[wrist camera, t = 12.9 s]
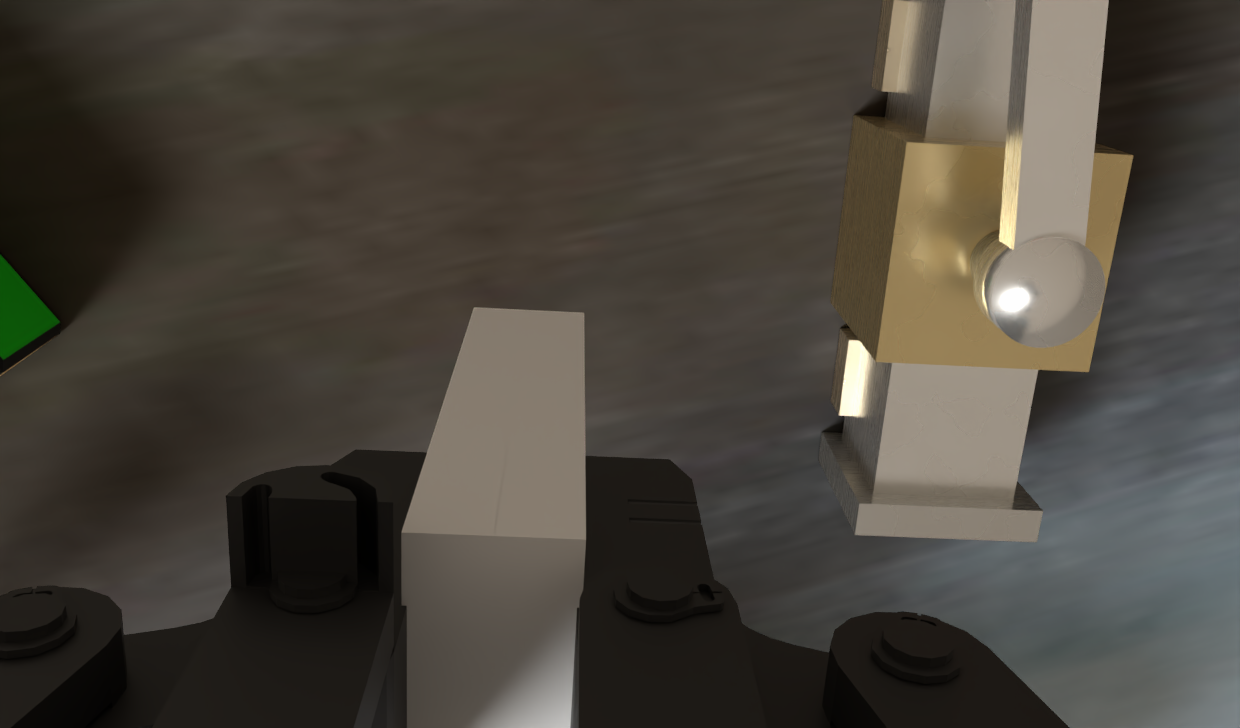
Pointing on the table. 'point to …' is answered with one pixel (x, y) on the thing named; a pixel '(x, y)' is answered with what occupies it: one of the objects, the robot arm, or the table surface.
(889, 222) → the valve pipe
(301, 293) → the table surface
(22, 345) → the puzzle cube
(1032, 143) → the valve lever
